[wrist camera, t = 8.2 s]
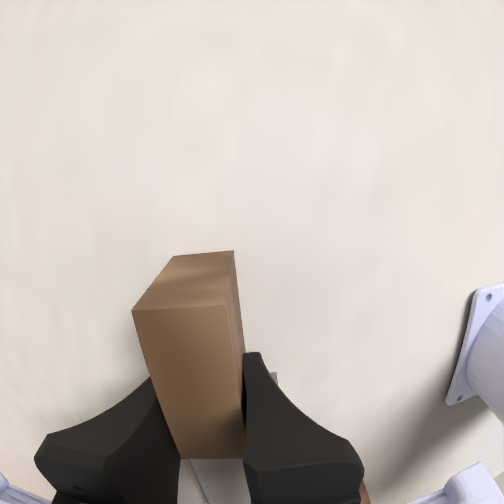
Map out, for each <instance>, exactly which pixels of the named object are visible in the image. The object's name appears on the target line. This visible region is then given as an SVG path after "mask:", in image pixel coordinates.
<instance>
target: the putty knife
mask: <svg viewBox="0 0 504 504" xmlns="http://www.w3.org/2000/svg"><path fill="white" fill-rule="evenodd" d="M131 311H132V315H133V319H134V323H135V327H136V330H137V334H138V337H139V341H140V344H141V348H142V351H143V355H144V358H145V361H146V364H147V368H148V371H149V374H150V377H151V380H152V383H153V386H154V389H155V392H156V395H157V397H158V400H159V403H160V406H161V408H162V411H163V414H164V417H165V419H166V422H167V424H168V427H169V429H170V432H171V434H172V437H173V439H174V442H175V444H176V447H177V449H178V451H179V454H180V456H181V458H182V459H189V460H190V462H191V465H192V467H193V469H194V472H195V474H196V476H197V478H198V481H199V483H200V485H201V487H202V489H203V492H204V494H205V496H206V498H207V500H208V502H209V504H251V498H250V494H249V489H248V485H247V481H246V476H245V472H244V467H243V463H242V462H243V454H244V444H245V432H246V414H247V395H246V387H245V380H244V373H243V366H242V359H243V353H245V345H244V337H243V329H242V320H241V312H240V303H239V295H238V286H237V277H236V268H235V260H234V250H233V251H223V252H212V253H202V254H191V255H180V256H173V258H172V259H171V260H170V261H169V263H168V264H167V265H166V266H165V268H164V269H163V270H162V271H161V273H160V274H159V275H158V276H157V278H156V279H155V280H154V282H153V283H152V284H151V285H150V287H149V288H148V289H147V291H146V292H145V293H144V294H143V296H142V297H141V298H140V300H139V301H138V302H137V304H136V305H135V306H134V308H133V309H132V310H131ZM270 375H271V377H272V378H273V380H274V381H275V383H276V384H277V385H278V382H277V375H276V372H275V373H270Z"/></svg>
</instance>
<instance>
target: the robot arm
mask: <svg viewBox="0 0 504 504" xmlns="http://www.w3.org/2000/svg"><path fill="white" fill-rule="evenodd" d="M486 296H487V297H486ZM242 366H243V373H244V380H245V387H246V395H247V414H246V432H245V444H244V454H243V462H242V463H243V467H244V472H245V476H246V481H247V485H248V489H249V494H250V498H251V504H360V502H361V495H360V492H359V488H360V485H361V483H362V480H363V477H364V467H363V464H362V462H361V460H360V458H359V456H358V454H357V453H356V451H355V449H354V448H353V446H352V445H351V444H350V442H349V441H348V440H346V439H344V438H342V437H340V436H338V435H335V434H333V433H331V432H330V431H328V430H326V429H325V428H323V427H322V426H320V425H318V424H317V423H316V422H314V421H313V420H312V419H310V418H309V417H308V416H306V415H305V414H304V413H303V412H302V411H300V410H299V409H298V408H297V407H296V406H295V405H294V404H293V403H292V402H291V401H290V400H289V399H288V398H287V397H286V395H285V394H284V393H283V392H282V391H281V389H280V388H279V387H278V385H277V384H276V383H275V381H274V380H273V378H272V377H271V375H270V373H269V372H268V370H267V368H266V366H265V364H264V362H263V360H262V356H261V354H260V353H259V352H250V353H243V359H242ZM476 395H479V397H480V398H481V399H482V400H483V401H484V402H485V404H486V405H487V406H488V407H489V408H490V410H491V411H492V412H493V413H494V414H495V415H496V417H497V418H498V419H499V420H500V422H501V423H502V424H503V425H504V283H500V284H496V285H492V286H487V287H483V288H480V289H478V290H477V291H476V292H475V294H474V296H473V300H472V305H471V311H470V315H469V320H468V325H467V329H466V333H465V337H464V341H463V345H462V349H461V353H460V356H459V360H458V363H457V366H456V370H455V373H454V376H453V379H452V382H451V385H450V388H449V391H448V394H447V397H446V400H445V402H446V404H447V405H448V406H452V405H455V404H457V403H460V402H462V401H465V400H467V399H469V398H472V397H474V396H476ZM180 460H181V456H180V454H179V451H178V449H177V447H176V444H175V442H174V439H173V437H172V434H171V432H170V429H169V427H168V424H167V422H166V419H165V417H164V414H163V411H162V408H161V406H160V403H159V400H158V397H157V395H156V392H155V389H154V386H153V383H152V380H151V377H149V378H148V379H147V380H146V381H145V382H144V383H143V384H141V385H140V386H139V387H138V388H137V389H136V390H135V391H133V392H132V393H131V394H130V395H129V396H127V397H126V398H125V399H123V400H122V401H121V402H119V403H118V404H116V405H115V406H113V407H112V408H110V409H109V410H107V411H105V412H103V413H101V414H100V415H98V416H96V417H94V418H92V419H90V420H88V421H86V422H84V423H81V424H79V425H76V426H74V427H71V428H68V429H64V430H61V431H58V432H54V433H50V434H47V436H46V438H45V439H44V441H43V442H42V444H41V446H40V447H39V449H38V451H37V452H36V454H35V456H34V461H35V464H36V466H37V468H38V469H39V471H40V472H41V473H42V475H43V476H44V477H45V478H46V479H47V480H48V482H49V483H50V484H51V485H52V486H53V487H54V488H55V489H56V490H57V492H56V494H55V496H54V499H53V501H49V500H47V499H44V498H42V497H39V496H37V495H34V494H32V493H30V492H27V491H25V490H23V489H21V488H19V487H16V486H14V485H12V484H10V483H9V482H8V481H7V479H6V478H5V477H4V476H3V475H2V474H1V473H0V504H177V493H178V478H179V468H180ZM405 504H504V495H503V494H502V492H501V491H500V489H499V487H498V486H497V484H496V483H495V481H494V479H493V478H492V476H491V475H490V473H489V472H488V470H487V468H486V467H485V465H484V464H483V462H478V463H476V464H474V465H473V466H471V467H469V468H467V469H465V470H463V471H461V472H459V473H457V474H455V475H454V476H452V477H451V478H450V479H449V480H448V481H447V483H446V485H445V486H444V488H443V489H441V490H438V491H436V492H434V493H431V494H429V495H426V496H424V497H421V498H419V499H416V500H414V501H411V502H408V503H405Z"/></svg>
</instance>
